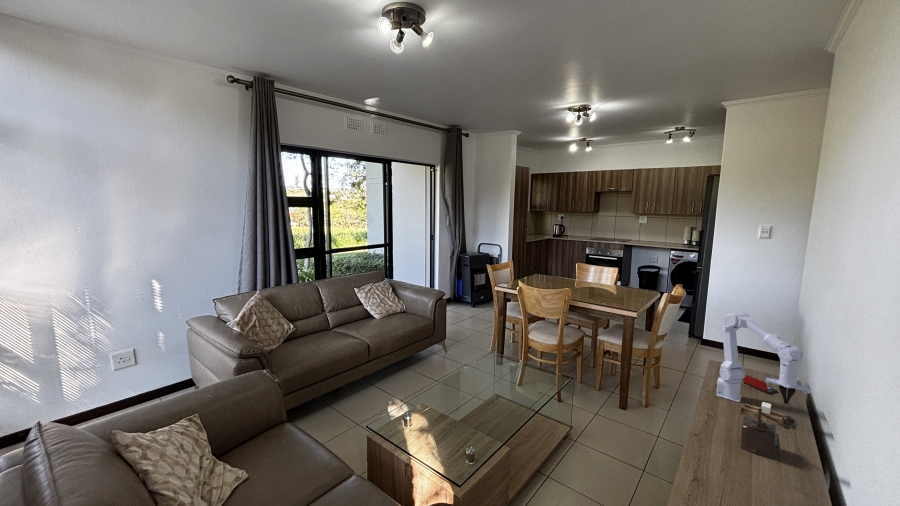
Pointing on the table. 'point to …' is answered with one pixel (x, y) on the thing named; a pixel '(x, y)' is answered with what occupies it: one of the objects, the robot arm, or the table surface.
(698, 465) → the table surface
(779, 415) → the brown wooden frame
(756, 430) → the dark brown boxy piece
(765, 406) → the block
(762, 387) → the handheld game console
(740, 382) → the robot arm
